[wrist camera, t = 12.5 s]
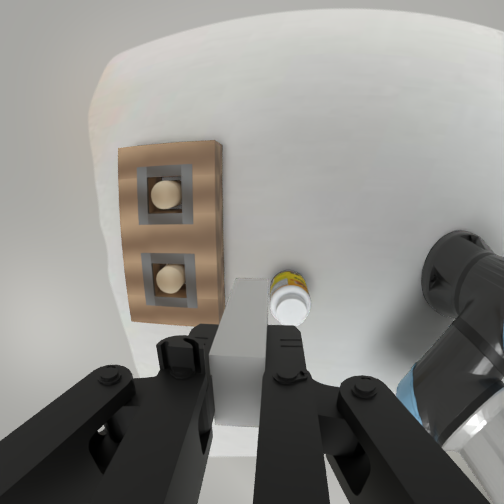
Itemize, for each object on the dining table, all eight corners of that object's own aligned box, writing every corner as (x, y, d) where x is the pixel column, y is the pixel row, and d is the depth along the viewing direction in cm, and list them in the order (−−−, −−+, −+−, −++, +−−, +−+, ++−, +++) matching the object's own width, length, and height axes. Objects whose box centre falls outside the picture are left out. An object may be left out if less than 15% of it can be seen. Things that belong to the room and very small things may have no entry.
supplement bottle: (311, 292, 48) (320, 320, 38) (280, 308, 49) (282, 339, 39) (295, 262, 47) (301, 285, 37) (263, 279, 48) (261, 305, 38)
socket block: (135, 150, 45) (118, 148, 39) (222, 145, 44) (214, 140, 38) (145, 306, 51) (131, 321, 45) (225, 311, 50) (219, 327, 44)
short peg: (168, 257, 48) (155, 267, 42) (191, 257, 48) (180, 268, 42) (170, 279, 49) (157, 292, 43) (192, 280, 49) (182, 294, 43)
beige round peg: (165, 180, 45) (150, 181, 39) (188, 179, 45) (176, 180, 39) (165, 205, 46) (151, 209, 40) (189, 204, 46) (177, 208, 40)
